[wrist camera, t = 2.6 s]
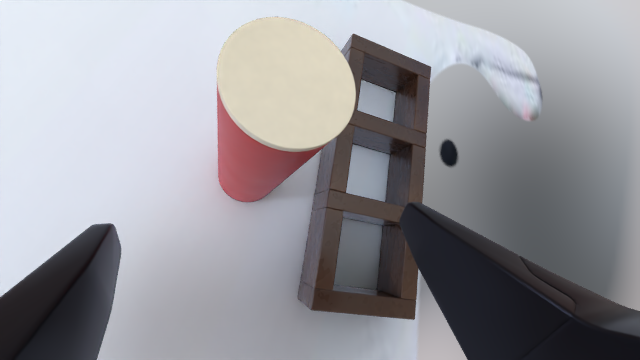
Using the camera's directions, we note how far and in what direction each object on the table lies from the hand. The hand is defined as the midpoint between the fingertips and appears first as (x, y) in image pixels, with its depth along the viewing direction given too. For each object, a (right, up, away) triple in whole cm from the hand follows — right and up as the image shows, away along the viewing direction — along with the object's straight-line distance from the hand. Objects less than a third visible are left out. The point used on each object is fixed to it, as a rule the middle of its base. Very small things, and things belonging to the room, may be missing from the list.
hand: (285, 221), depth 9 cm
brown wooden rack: (+4, +2, +13) cm, 14 cm away
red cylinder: (-4, +2, +10) cm, 11 cm away
